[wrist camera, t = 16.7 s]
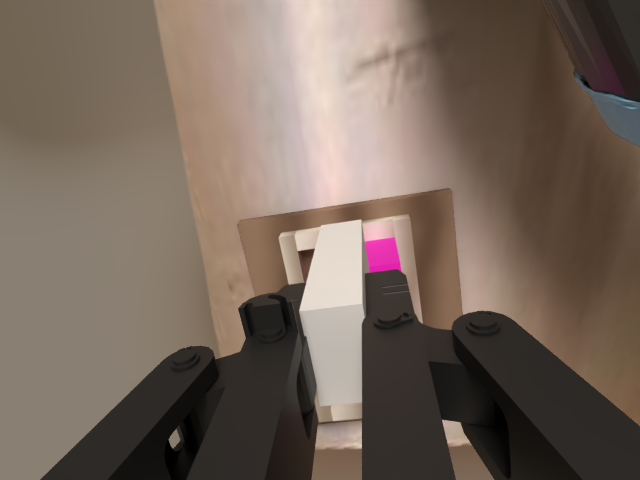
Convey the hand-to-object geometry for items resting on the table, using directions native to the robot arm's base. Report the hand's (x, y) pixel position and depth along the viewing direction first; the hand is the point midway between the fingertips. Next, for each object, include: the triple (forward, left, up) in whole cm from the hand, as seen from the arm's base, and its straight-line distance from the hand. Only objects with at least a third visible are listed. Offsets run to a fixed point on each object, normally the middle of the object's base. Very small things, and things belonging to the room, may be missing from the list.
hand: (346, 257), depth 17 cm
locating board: (+2, +17, -26) cm, 31 cm away
